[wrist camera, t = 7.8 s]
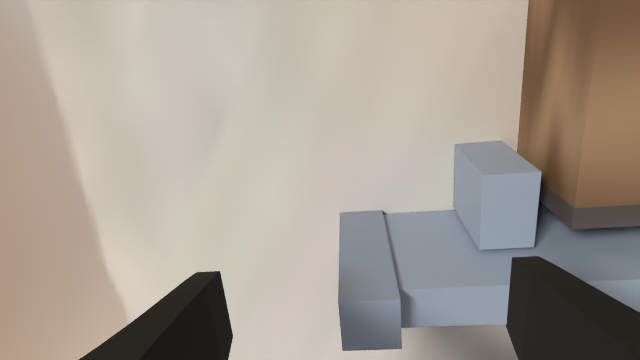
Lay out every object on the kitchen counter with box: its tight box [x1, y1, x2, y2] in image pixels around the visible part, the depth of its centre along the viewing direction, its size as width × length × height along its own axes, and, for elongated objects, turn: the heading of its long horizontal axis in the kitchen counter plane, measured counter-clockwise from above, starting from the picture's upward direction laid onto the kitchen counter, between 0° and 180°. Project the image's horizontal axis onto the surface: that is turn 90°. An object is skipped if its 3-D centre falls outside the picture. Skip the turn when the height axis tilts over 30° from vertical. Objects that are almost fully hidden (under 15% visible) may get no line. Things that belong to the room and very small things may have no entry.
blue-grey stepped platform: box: [338, 141, 640, 351], centre depth 16 cm, size 5×20×7 cm, turn 95°
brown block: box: [517, 0, 640, 230], centre depth 14 cm, size 13×4×5 cm, turn 5°
